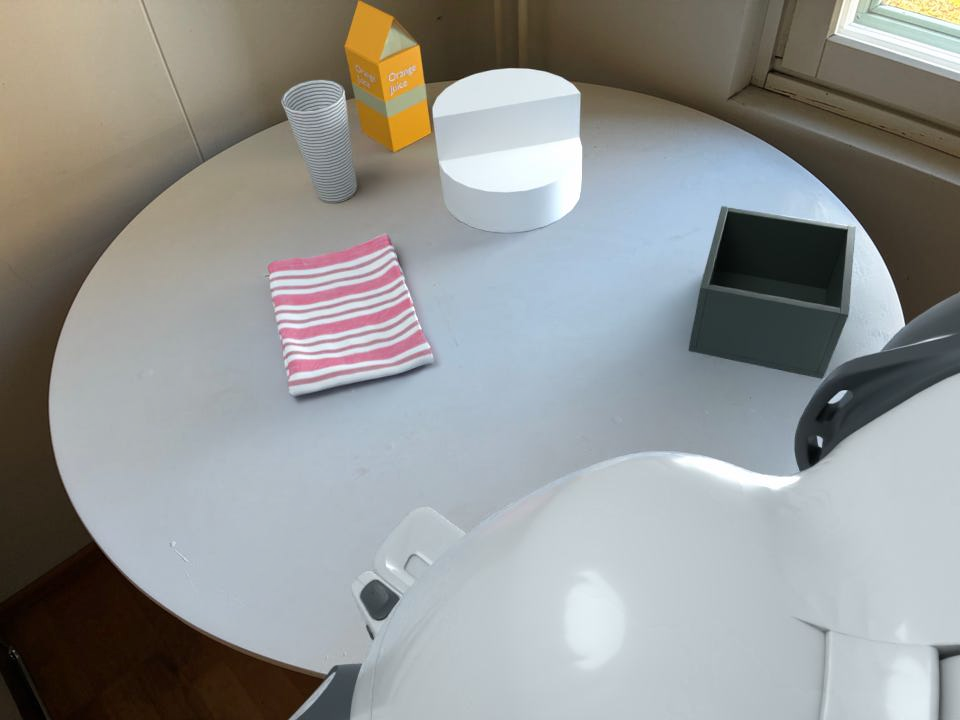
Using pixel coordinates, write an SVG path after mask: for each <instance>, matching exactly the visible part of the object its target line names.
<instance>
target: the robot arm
mask: <svg viewBox="0 0 960 720" xmlns="http://www.w3.org/2000/svg"><path fill="white" fill-rule="evenodd" d="M842 391H846V392H845V393H844V394H843V396H842V397H841V398H840V399H839V400H837V401H836V402H830V401H831V400H832V399H833V398H834V397H835V396H836V395H838V394H839V393H840V392H842ZM794 433H795V434H794V441H793V443H794V444H793V450H794V458H795V462H796V466H797V468H798V470H799V471H798V472H795V473H789V474H780V475H778V474H777V475H776V474H765V473H761V472H755V471H752V470H749V469H746V468H744V467H741V466H738V465H736V464H733V463H731V462H727V461H724V460H720V459H718V458H714V457H710V456H707V455H705V454H697V453H690V452H684V451H674V450H673V451H671V450H669V451H668V450H666V451H665V450H659V451H658V450H652V451H651V450H649V451H640V452H634V453H629V454H622V455H618V456H613V457H611V458H608V459H604V460H602V461H601V460H600V461H599V462H596V463H593V464H590V465H588V466H585V467H583V468H580V469H578V470H576V471H573V472H570V473H568V474H566V475H563V476H561V477H559V478H556V479H554V480H552V481H550V482H548V483H546V484H545V485H543V486H540V487H538V488H537V489H535V490H532V491H530V492H529V493H527V494H525V495H523V496H521V497H519V498H518V499H516V500H514V501H512V502H510V503H508V504H507V505H505V506H504V507H502V508H501V509H499V510H497V511H496V512H494V513H492V514H491V515H490V516H488V517H486V518H485V519H483V520H482V521H481V522H480V523H478V524H477V525H475V527H473V528H472V529H470V530H468V532H467V533H466V532H465V531H464V530H462V528H459V527H458V526H457V525H456V524H454V523H453V522H451V521H450V520H448V519H447V518H445V517H444V516H443V515H442V514H440V513H439V512H438V511H436V510H435V509H434V508H432V507H430V506H421V507H418V508H413V509H412V510H411V511H410V512H408V514H406V515H405V516H404V517H403V518H402V520H400V521H399V522H398V523H397V525H396V526H394V528H393V529H392V530H391V531H390V533H389V534H388V535H387V537H386V538H385V539H384V540H383V541H382V543H381V544H380V545H379V547H378V548H377V550H376V551H375V554H374V556H373V559H372V570H373V571H370V570H366V571H363V572H362V573H360V574H359V575H358V576H357V577H356V578H355V579H354V581H352V583H351V586H350V590H351V594H352V598H353V600H354V603H355V605H356V608H357V610H358V612H359V615H360V616H361V618H362V620H363V622H364V624H365V628H366V631H367V633H368V635H369V637H370V639H371V640H372V642H371V643H370V645H369V648H368V649H367V652H366V654H365V657H364V659H363V660H362V663H346V664H336V665H333V666H332V667H331V669H329V671H328V672H327V674H326V676H325V677H324V679H323V680H322V681H321V683H320V684H319V686H318V687H317V688H316V689H315V690H314V691H313V693H312V694H311V695H310V696H309V697H308V698H307V699H306V700H305V701H304V703H302V704H301V705H300V707H299V708H298V709H297V710H296V711H295V712H294V713H293V714H292V715H291V716H290V717H289V718H288V719H287V720H960V292H958V293H956V294H953V295H951V296H950V297H948V298H945V299H944V300H942V301H940V302H939V303H937V304H935V305H933V306H932V307H930V308H929V309H927V310H926V311H924V312H923V313H921V314H919V315H917V316H916V317H914V318H913V319H912V320H910V322H908V323H907V324H905V325H904V326H903V327H901V329H899V331H897V332H896V333H895V334H894V335H893V336H892V337H891V338H890V340H889V341H888V342H887V343H886V344H885V345H884V347H882V349H881V350H880V351H878V352H873V353H868V354H865V355H861V356H858V357H854V358H853V359H850V360H847V361H845V362H843V363H842V364H840V365H838V366H837V367H836V368H834V369H833V370H832V371H831V372H830V373H829V374H828V375H827V376H826V377H825V378H824V379H823V381H822V382H821V383H820V384H819V386H818V387H817V388H816V390H815V391H814V392H813V394H812V396H811V397H810V399H809V401H808V403H807V405H806V406H805V407H804V410H803V411H802V413H801V415H800V417H799V420H798V423H797V426H796V429H795V432H794ZM818 437H819V438H821V439H822V442H821V446H820V445H819V441H818Z"/></svg>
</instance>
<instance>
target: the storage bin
mask: <svg viewBox="0 0 960 720" xmlns="http://www.w3.org/2000/svg"><path fill="white" fill-rule="evenodd" d="M856 229H857V227H856V226H854V225H846V224H840V223H834V222H826V221H820V220H815V219H807V218H801V217H795V216H789V215H788V216H787V215H782V214H776V213H768V212H762V211H756V210H755V211H754V210H749V209H741V208H737V207H729V206H723V205H721V207H720V211H719V214H718V218H717V222H716V225H715V230H714V233H713V238H712V241H711V245H710V248H709V253H708V256H707V260H706V263H705V268H704V272H703V275H702V279H701V282H700V287H699V291H698V296H697V302H696V306H695V312H694V318H693V323H692V329H691V333H690V339H689V342H688V343H689V344H688V349H687V350H688V351H689V352H693V353H698V354H703V355H707V356H708V355H709V356H713V357H718V358H723V359H727V360H733V361H737V362H742V363H746V364H751V365H754V366H755V365H756V366H760V367H765V368H771V369H775V370H780V371H785V372H790V373H794V374H800V375H805V376H809V377H813V378H818V379H825V378H824V377H825V375H826V372H827V370H828V367H829V365H830V362H831V360H832V358H833V355H834V353H835V350H836V347H837V345H838V343H839V340H840V338H841V336H842V333H843V331H844V328H845V325H846V322H847V320H848V318H849V313H850V305H851V303H850V302H851V289H852V280H853V279H852V277H853V265H854V252H855V240H856Z"/></svg>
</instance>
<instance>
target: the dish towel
mask: <svg viewBox="0 0 960 720" xmlns="http://www.w3.org/2000/svg"><path fill="white" fill-rule="evenodd" d="M395 249H396V248H395V246H394V244H393V242H392V240H391V238H390V237H389V235H388V233H387V232H386V233H383V234H380V235H378V236H376V237H373V238H372V239H370V240H367V241H365V242H362V243H361V242H360V243H357V244H356V245H353V246H351V247H348V248H346V249H343V250H340V251H331V252H326V253H323V254H319V255H315V256H310V257H293V258H284V259H278V260H273V261H272V262H270V263H269V264H268V265H267V271H268V273H269V277H268V281H269V288H270V293H271V294H270V295H271V302H272V306H273V309H274V315H275V322H276V324H277V332H278V335H279V340H280V343H281V346H282V358H283V361H284V363H283V364H284V369H285V373H286V376H287V388H288V393H289V396H290V397H298V396H302V395H303V396H304V395H307V394H313V393H317V392H322V391H325V390H328V389H334V388H337V387H342V386H347V385H352V384H356V383H360V382H361V383H362V382H365V381H370V380H375V379H380V378H383V377H385V378H386V377H388V376H389V377H390V376H395V375H399V374H401V373H405V372H407V371H410V370H412V369H416V368H419V367H421V366H424V365H428V364H433V362H434V355H433V352H432V349H431V345H430V344H429V342H428V341H427V339H426V337H425V335H424V333H423V328H422V327H421V324H420V322H419V318H418V316H417V314H416V308H415V306H414V301H413V298H412V296H411V293H410V290H409V289H408V285H407V283H406V277H405V275H404V271H403V269H402V267H401V265H400V263H399V260H398V255H397V253H396V250H395Z"/></svg>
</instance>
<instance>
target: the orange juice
mask: <svg viewBox="0 0 960 720" xmlns="http://www.w3.org/2000/svg"><path fill="white" fill-rule="evenodd" d="M420 46H421V45H420V43H418V42H417V40H416V39H415V38H414V37H413V36H412V35H411V34H410V33H409V32H408V31H407V29H406V28H404V26H403V25H402V24H401V23H400V22H399V21H398V20H397V19H396V18H395V16H393V15H391V14H389V13H387V12H385V11H383V10H381V9H379V8H376V7H374V6H373V5H371V4H368V3H366V2H364V1H362V0H358V2H357V5H356V8H355V11H354V15H353V18H352V21H351V25H350V28H349V30H348V35H347V37H346V40H345V43H344V46H343V47H344V50H345V56H346V60H347V61H346V62H347V65H348V70H349V74H350V75H349V76H350V80H351V86H352V91H353V95H354V99H355V104H356V109H357V113H358V119H359V124H360V128H361V132H362V133H363V134H364V135H366V136H368V137H369V138H371V139H372V140H374V141H375V142H376V143H379V144H380V145H381V146H383V147H385V148H386V149H387V150H389V151H391V152H393V153H396V152H399V150H402V149H404V148H406V147H407V146H409V145H411V144H413V143H415V142H417V141H419V140H421V139H423V138H424V137H427V136H428V135H431V134H432V130H431V123H430V114H429V108H428V100H427V99H428V97H427V88H426V83H425V77H424V76H425V75H424V69H423V63H422V53H421V47H420Z"/></svg>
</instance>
